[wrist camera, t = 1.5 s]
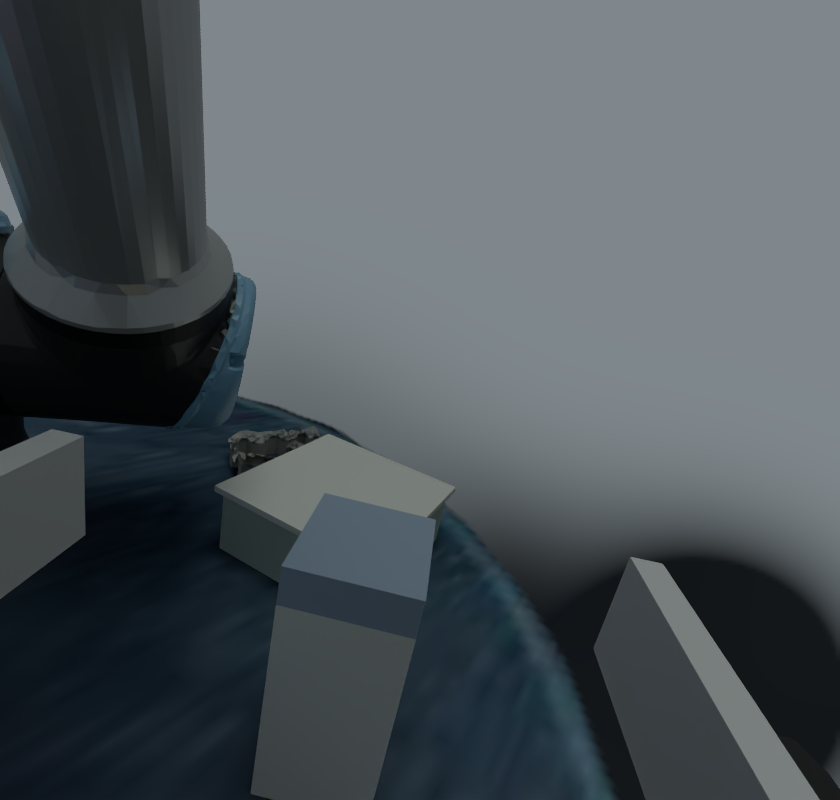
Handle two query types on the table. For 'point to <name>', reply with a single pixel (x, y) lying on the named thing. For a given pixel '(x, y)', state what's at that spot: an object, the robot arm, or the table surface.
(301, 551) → the milk carton
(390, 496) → the podium
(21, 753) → the table surface
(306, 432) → the egg carton
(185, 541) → the table surface
